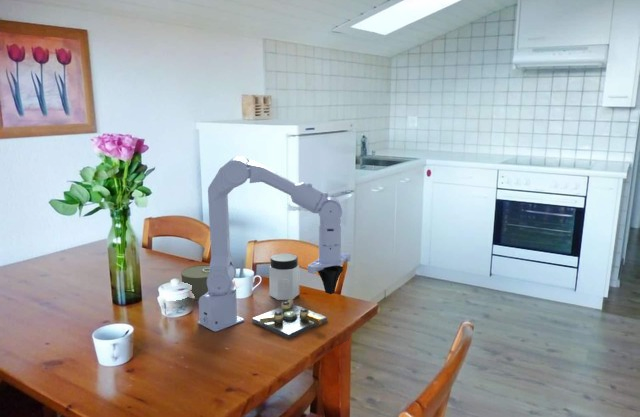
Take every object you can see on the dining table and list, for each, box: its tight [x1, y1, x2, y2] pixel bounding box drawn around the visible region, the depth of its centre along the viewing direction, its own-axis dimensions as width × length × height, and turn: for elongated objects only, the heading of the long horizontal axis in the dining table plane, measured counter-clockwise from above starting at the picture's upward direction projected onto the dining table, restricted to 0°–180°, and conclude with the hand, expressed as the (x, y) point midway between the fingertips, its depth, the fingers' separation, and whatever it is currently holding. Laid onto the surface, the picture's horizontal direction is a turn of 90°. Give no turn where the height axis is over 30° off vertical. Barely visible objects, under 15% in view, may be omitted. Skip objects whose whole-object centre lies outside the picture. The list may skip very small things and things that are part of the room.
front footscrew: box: [300, 307, 323, 325], centre depth 133 cm, size 7×2×2 cm, turn 47°
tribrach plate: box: [251, 303, 328, 340], centre depth 135 cm, size 14×14×3 cm
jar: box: [268, 253, 300, 301], centre depth 153 cm, size 9×8×12 cm
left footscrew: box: [260, 311, 283, 324], centre depth 132 cm, size 6×2×2 cm, turn 107°
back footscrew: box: [281, 299, 294, 312], centre depth 141 cm, size 6×2×2 cm, turn 167°
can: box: [180, 264, 210, 300], centre depth 156 cm, size 12×12×7 cm
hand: (329, 292), depth 135 cm, fingers closed
